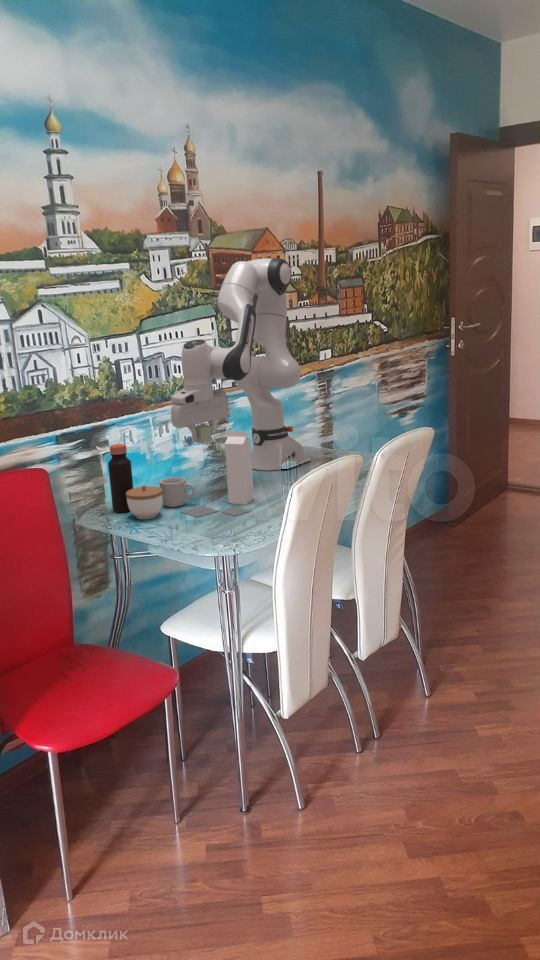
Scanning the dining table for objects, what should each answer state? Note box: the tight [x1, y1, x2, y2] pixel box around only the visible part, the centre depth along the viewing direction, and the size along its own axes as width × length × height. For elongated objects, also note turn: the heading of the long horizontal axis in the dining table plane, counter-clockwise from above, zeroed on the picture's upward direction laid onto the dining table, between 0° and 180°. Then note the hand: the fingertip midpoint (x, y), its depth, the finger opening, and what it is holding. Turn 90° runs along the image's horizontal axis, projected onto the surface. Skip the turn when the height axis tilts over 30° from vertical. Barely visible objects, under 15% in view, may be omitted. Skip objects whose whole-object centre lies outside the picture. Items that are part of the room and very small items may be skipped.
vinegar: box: [107, 443, 134, 514], centre depth 251 cm, size 7×7×20 cm
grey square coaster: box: [222, 506, 251, 517], centre depth 245 cm, size 6×6×1 cm
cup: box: [159, 476, 196, 508], centre depth 254 cm, size 11×8×8 cm
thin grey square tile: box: [181, 505, 219, 518], centre depth 247 cm, size 8×8×1 cm
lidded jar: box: [126, 484, 164, 520], centre depth 245 cm, size 11×11×9 cm
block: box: [193, 423, 213, 444], centre depth 263 cm, size 4×4×5 cm
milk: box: [224, 430, 255, 505], centre depth 253 cm, size 6×6×22 cm
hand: (202, 436), depth 263 cm, fingers closed on block, 4 cm apart
